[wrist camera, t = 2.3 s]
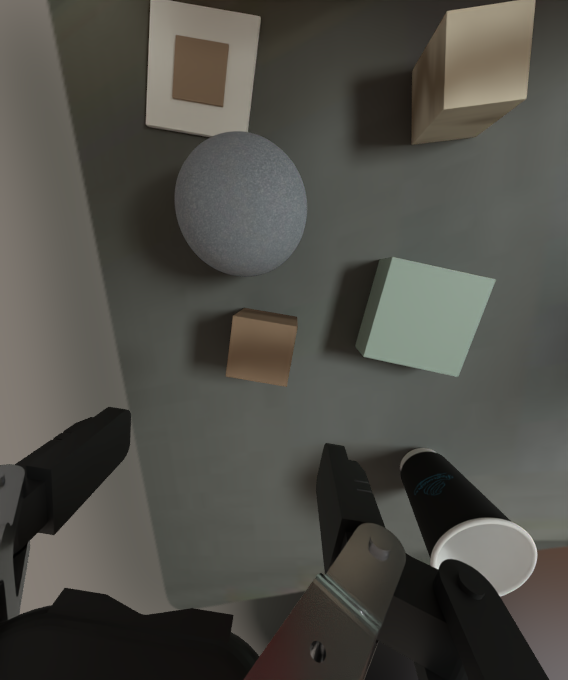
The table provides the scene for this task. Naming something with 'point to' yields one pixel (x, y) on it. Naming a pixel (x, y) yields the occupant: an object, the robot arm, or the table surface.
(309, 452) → the table surface
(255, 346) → the walnut block
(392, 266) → the sage green base block
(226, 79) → the card
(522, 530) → the dixie cup
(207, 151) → the decorative stone
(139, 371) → the table surface
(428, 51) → the birch block
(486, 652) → the robot arm
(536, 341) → the table surface
